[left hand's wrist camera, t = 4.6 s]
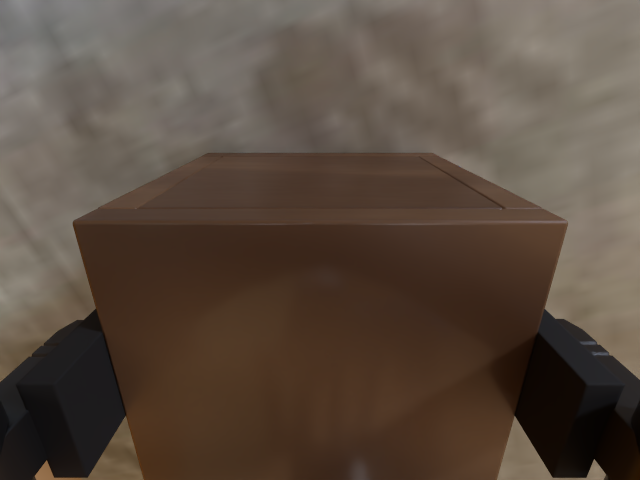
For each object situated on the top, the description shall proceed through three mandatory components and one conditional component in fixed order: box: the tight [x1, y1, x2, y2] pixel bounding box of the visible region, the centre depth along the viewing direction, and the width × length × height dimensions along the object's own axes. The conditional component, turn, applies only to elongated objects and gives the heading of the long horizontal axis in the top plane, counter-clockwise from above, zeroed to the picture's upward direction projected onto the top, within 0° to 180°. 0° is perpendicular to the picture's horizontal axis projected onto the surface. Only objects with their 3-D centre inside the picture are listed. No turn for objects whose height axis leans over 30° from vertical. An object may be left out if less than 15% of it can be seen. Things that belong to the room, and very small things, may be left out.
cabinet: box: [73, 153, 568, 480], centre depth 15 cm, size 17×10×10 cm, turn 0°
